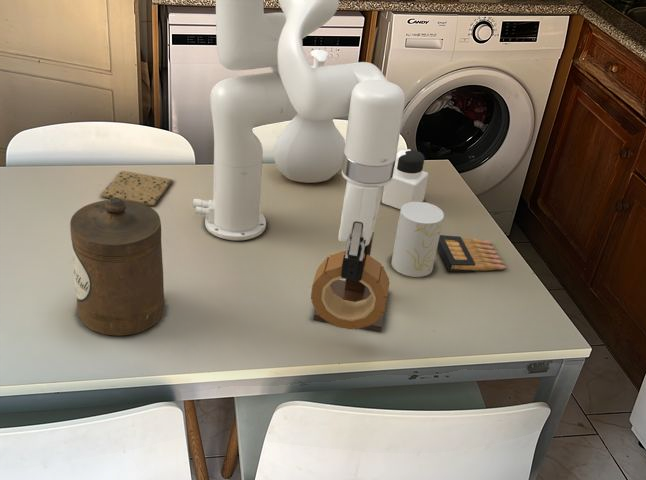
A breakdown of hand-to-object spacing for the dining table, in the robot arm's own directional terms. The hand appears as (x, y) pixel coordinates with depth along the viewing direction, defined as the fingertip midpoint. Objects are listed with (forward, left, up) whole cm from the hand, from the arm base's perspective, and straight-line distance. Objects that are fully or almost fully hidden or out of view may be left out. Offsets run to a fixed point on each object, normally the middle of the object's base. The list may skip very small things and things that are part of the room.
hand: (353, 267), depth 129 cm
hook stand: (0, +11, -16) cm, 19 cm away
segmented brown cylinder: (0, 0, -4) cm, 4 cm away
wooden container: (-39, -2, -16) cm, 42 cm away
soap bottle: (-16, +59, -16) cm, 63 cm away
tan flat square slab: (-51, +40, -16) cm, 67 cm away
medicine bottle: (+6, +53, -16) cm, 56 cm away
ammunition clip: (+15, +33, -15) cm, 39 cm away
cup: (+10, +28, -16) cm, 34 cm away
